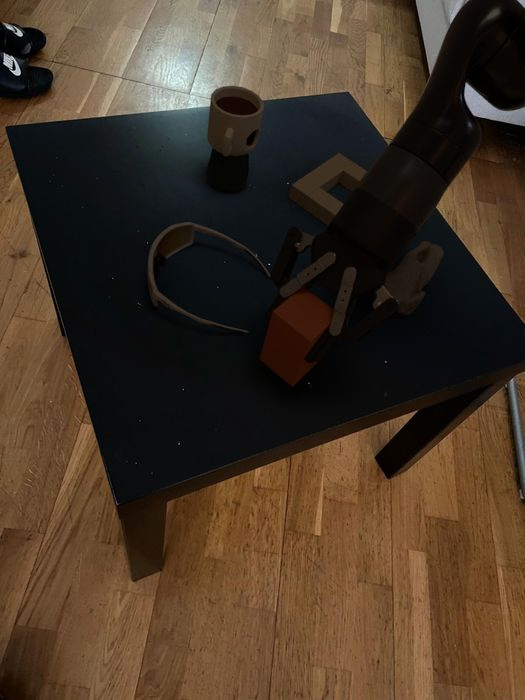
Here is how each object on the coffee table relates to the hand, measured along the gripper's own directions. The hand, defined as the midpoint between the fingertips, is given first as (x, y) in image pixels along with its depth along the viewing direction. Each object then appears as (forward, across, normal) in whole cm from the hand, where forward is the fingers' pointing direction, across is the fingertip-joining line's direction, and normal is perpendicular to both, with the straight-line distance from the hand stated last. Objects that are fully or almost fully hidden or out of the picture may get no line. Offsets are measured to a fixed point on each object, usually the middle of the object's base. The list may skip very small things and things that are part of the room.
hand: (288, 344), depth 56 cm
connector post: (+2, 0, +5) cm, 6 cm away
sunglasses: (+3, -16, +9) cm, 18 cm away
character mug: (-9, -28, +21) cm, 36 cm away
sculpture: (-12, +2, +24) cm, 27 cm away
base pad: (-17, -13, +28) cm, 36 cm away
